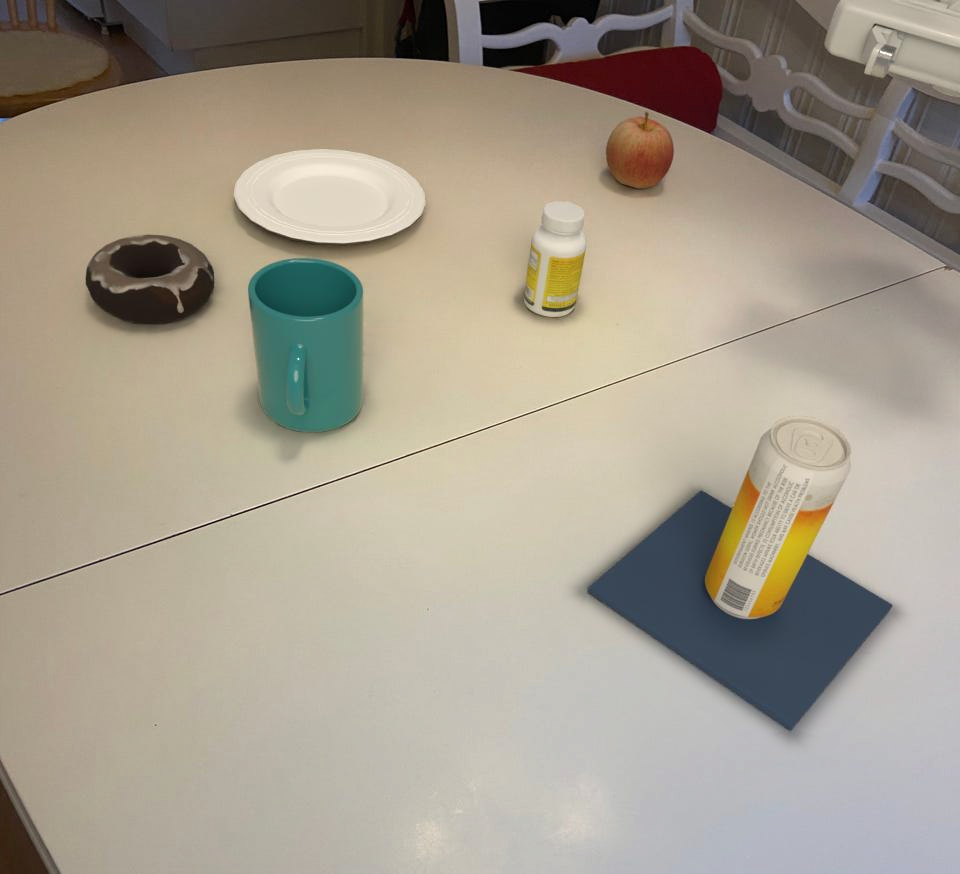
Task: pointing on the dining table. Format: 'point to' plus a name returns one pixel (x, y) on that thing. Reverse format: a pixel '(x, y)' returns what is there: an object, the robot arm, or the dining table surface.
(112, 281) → the donut
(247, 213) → the plate
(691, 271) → the dining table surface
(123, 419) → the dining table surface
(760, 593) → the beer can
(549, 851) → the dining table surface
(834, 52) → the robot arm
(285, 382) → the cup
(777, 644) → the can mat
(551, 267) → the supplement bottle
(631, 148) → the apple
